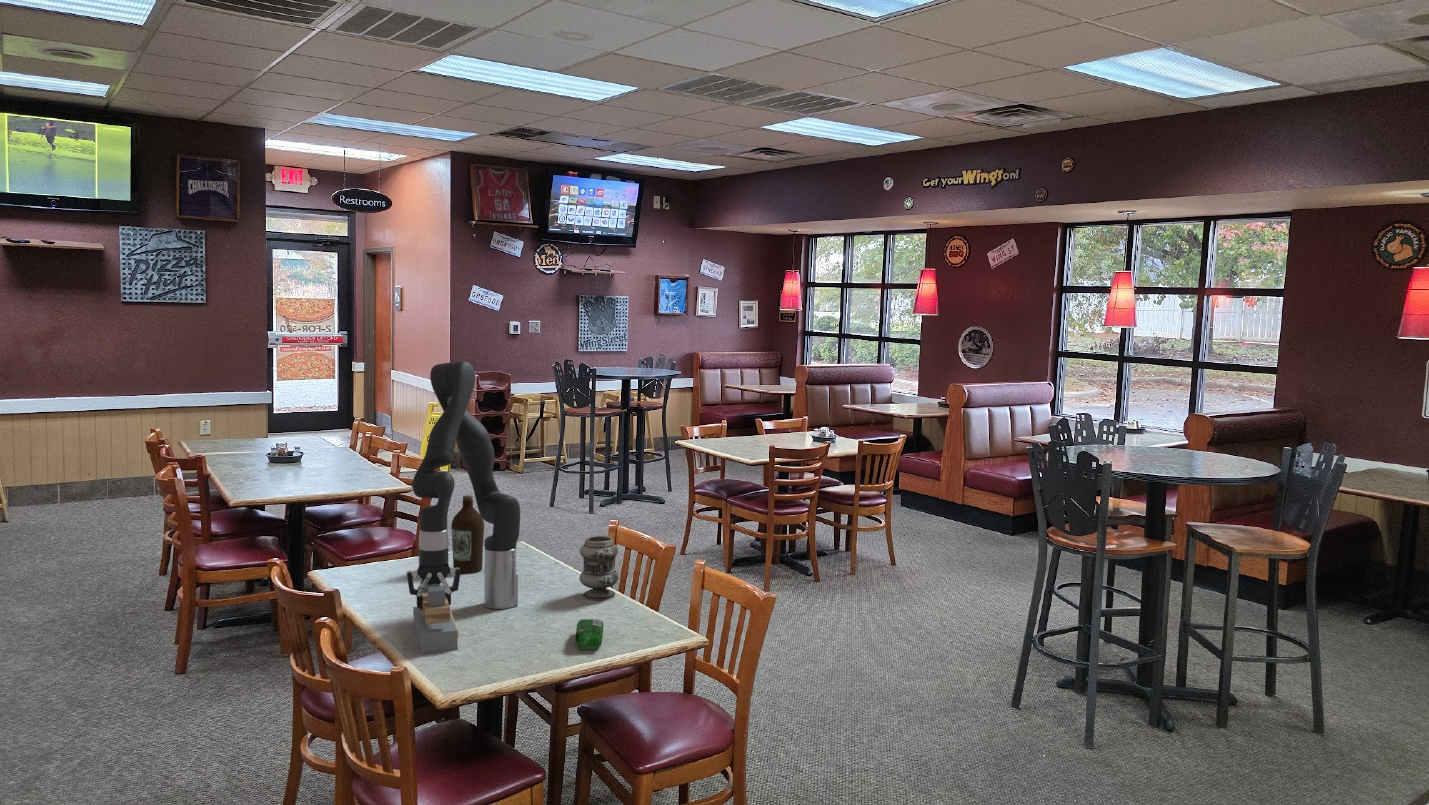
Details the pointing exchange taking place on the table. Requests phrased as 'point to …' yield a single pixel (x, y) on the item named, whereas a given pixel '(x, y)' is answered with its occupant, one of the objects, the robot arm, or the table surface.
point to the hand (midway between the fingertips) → (433, 607)
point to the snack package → (589, 633)
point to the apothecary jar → (599, 567)
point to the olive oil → (467, 538)
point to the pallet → (435, 611)
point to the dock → (435, 633)
